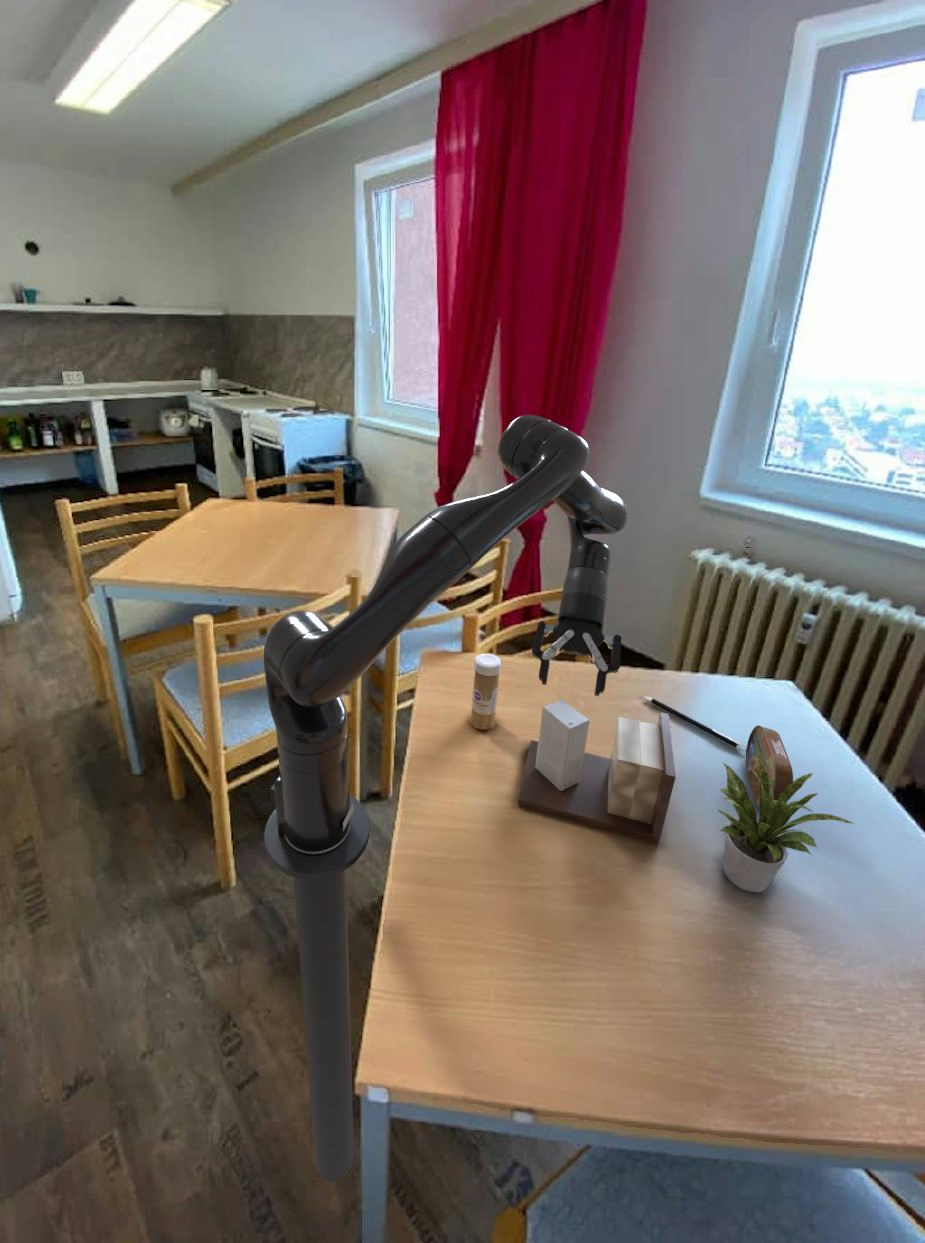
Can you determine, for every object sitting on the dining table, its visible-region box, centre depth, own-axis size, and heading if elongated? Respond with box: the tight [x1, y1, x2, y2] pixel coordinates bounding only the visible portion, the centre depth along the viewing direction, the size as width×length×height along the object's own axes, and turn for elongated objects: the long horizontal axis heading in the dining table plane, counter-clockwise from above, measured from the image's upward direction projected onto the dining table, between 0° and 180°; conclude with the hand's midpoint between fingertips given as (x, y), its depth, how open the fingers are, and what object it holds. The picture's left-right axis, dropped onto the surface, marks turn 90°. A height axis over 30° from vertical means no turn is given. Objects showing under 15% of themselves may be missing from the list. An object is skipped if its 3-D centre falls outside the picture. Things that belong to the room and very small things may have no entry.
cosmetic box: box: [535, 699, 590, 791], centre depth 90 cm, size 6×4×12 cm
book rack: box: [517, 712, 677, 844], centre depth 89 cm, size 20×14×12 cm
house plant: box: [717, 751, 855, 893], centre depth 75 cm, size 14×14×16 cm
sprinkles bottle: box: [469, 653, 502, 731], centre depth 103 cm, size 5×5×14 cm
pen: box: [643, 695, 747, 752], centre depth 106 cm, size 1×19×1 cm, turn 39°
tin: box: [744, 725, 794, 808], centre depth 91 cm, size 15×3×8 cm, turn 161°
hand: (570, 689), depth 96 cm, fingers open, 8 cm apart
